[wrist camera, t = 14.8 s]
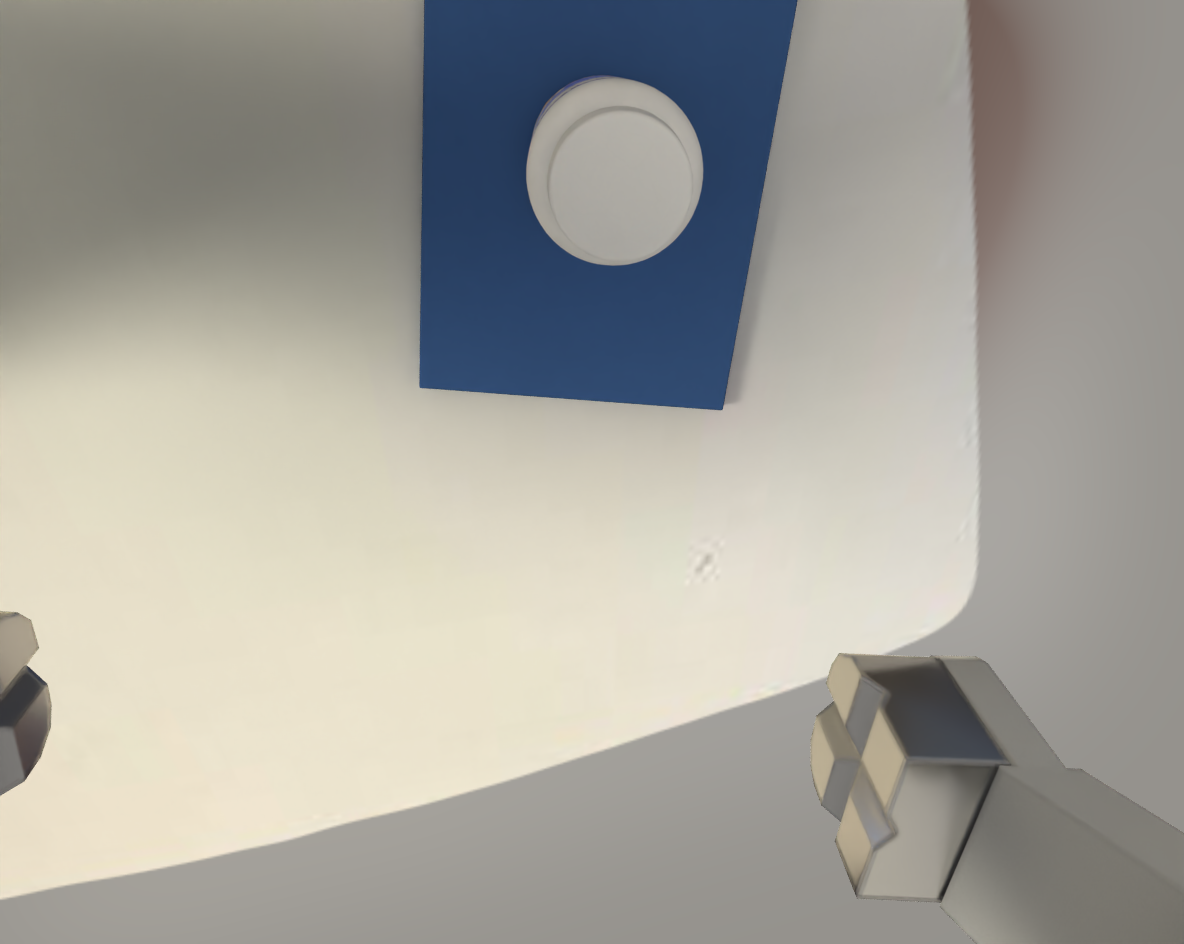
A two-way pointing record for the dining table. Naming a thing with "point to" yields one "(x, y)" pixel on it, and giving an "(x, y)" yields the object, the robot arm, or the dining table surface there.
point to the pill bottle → (613, 170)
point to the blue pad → (518, 241)
